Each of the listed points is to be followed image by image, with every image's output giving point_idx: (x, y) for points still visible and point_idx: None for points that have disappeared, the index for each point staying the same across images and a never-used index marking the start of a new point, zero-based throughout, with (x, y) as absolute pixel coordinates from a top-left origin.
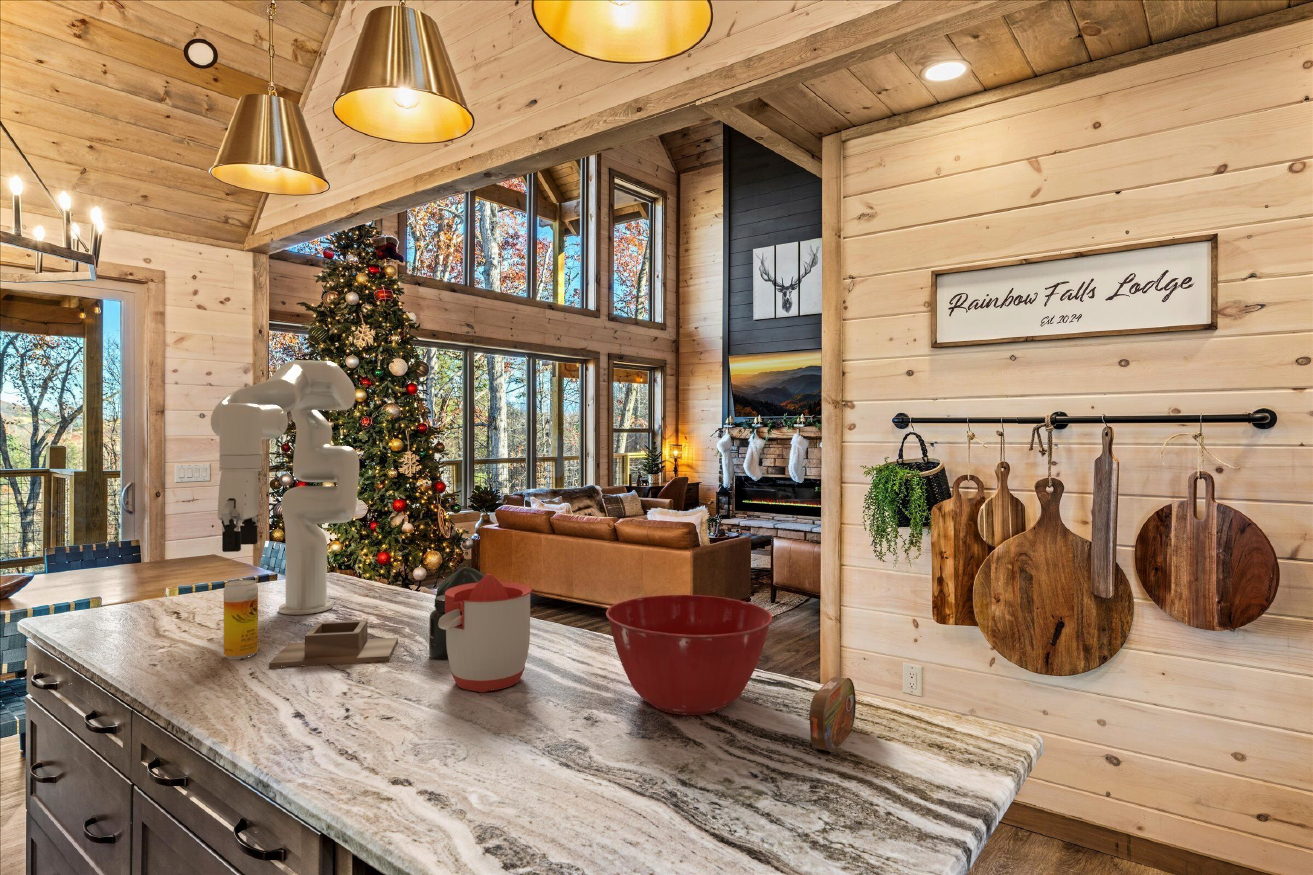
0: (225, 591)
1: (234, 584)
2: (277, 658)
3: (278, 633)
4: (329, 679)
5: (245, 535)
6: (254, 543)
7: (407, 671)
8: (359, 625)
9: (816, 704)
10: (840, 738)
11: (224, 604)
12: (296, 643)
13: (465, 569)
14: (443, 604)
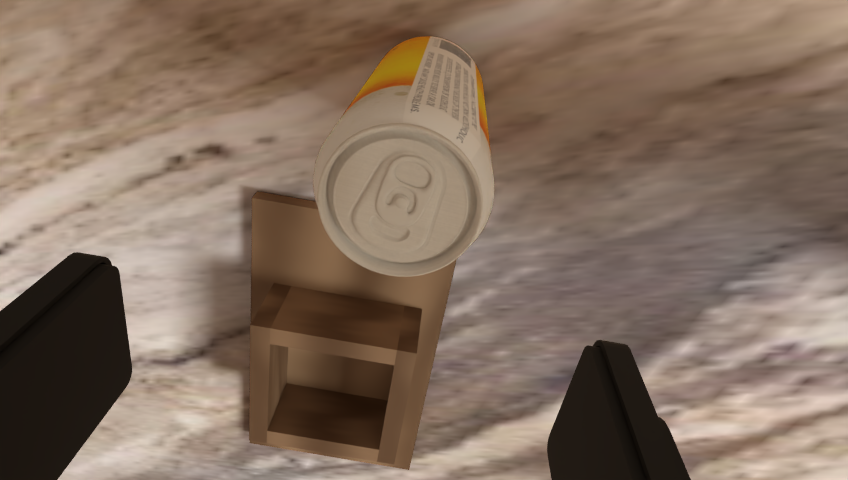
0: (344, 118)
1: (378, 172)
2: (294, 216)
3: (685, 184)
4: (134, 327)
5: (590, 451)
6: (550, 439)
7: (170, 454)
8: (336, 445)
9: None
10: None
11: (369, 90)
12: None
13: None
14: None
